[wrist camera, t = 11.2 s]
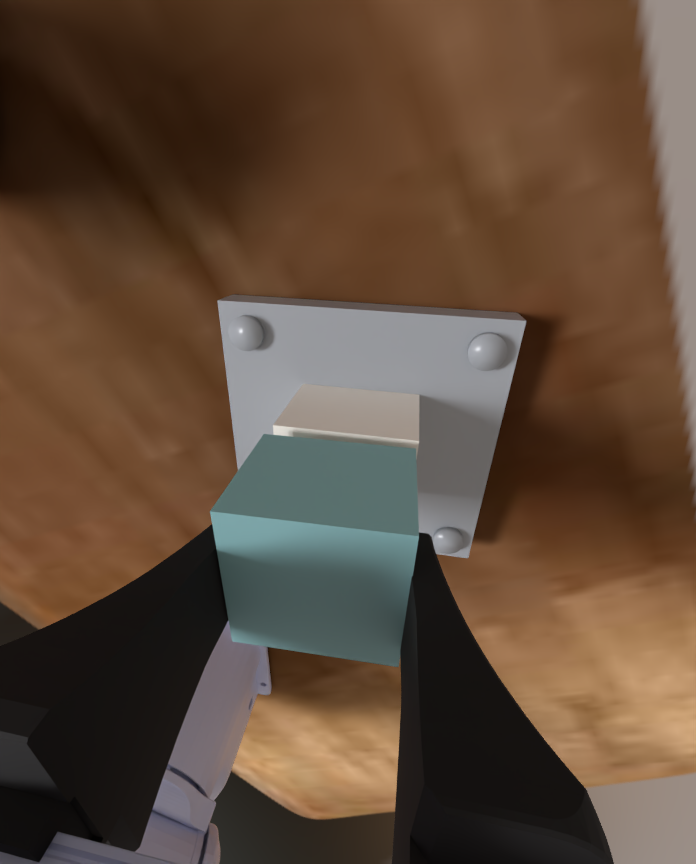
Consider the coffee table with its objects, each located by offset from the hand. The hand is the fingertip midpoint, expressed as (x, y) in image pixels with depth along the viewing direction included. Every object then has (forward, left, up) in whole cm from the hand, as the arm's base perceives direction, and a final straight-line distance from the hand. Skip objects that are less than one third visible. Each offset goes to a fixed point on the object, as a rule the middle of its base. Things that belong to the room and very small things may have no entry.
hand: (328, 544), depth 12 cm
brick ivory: (0, 0, -6) cm, 6 cm away
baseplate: (0, 0, -8) cm, 8 cm away
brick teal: (0, 0, -2) cm, 2 cm away
